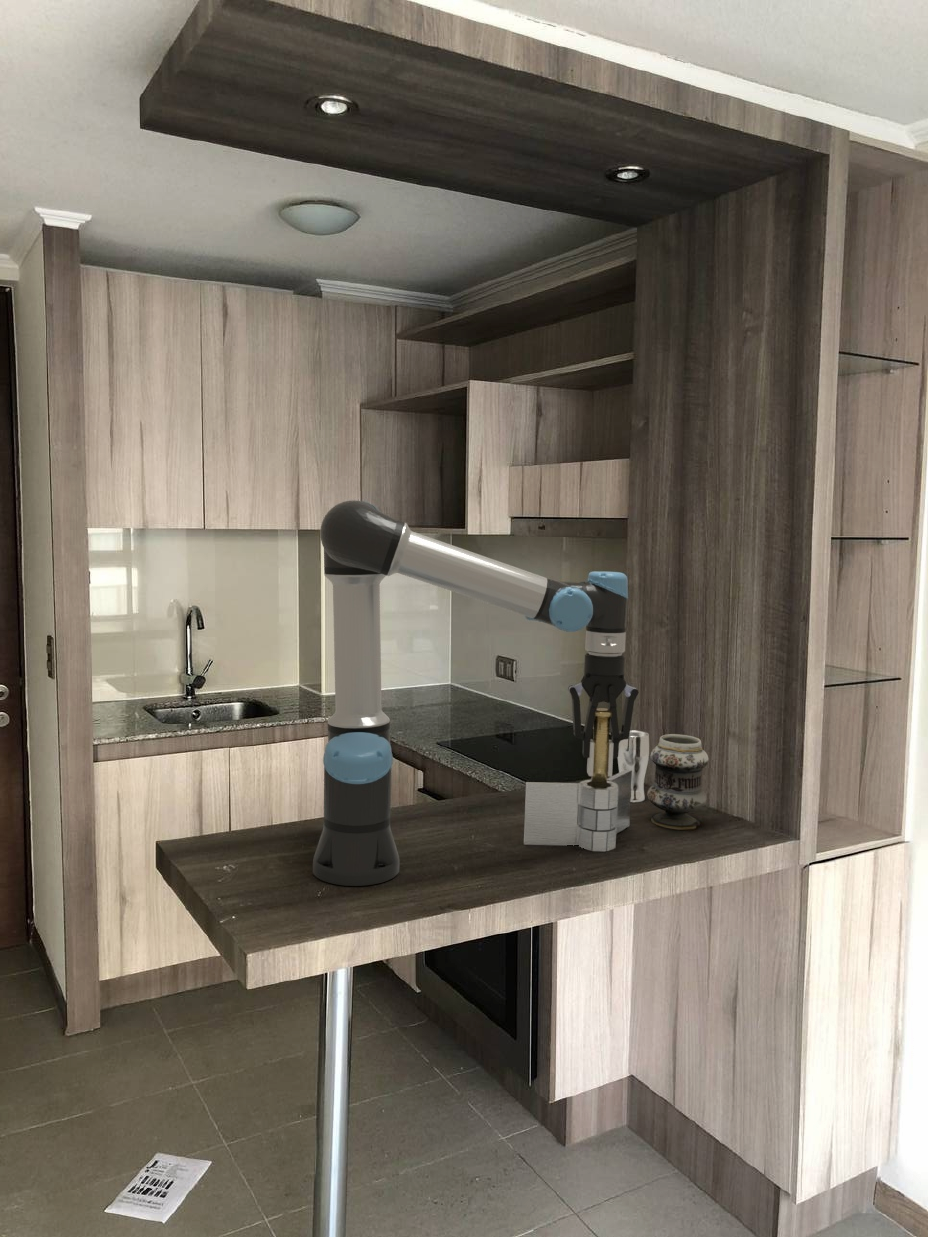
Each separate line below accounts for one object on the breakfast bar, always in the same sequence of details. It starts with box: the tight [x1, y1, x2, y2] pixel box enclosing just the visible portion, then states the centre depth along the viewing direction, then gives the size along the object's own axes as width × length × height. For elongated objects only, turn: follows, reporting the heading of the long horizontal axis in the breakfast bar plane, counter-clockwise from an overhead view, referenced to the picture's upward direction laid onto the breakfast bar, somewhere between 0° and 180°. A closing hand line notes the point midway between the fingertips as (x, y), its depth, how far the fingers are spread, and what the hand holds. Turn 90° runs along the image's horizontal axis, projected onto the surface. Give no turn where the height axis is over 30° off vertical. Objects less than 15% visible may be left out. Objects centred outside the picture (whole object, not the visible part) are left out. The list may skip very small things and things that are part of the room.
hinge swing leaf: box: [577, 769, 632, 835], centre depth 193 cm, size 18×7×12 cm, turn 146°
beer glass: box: [617, 729, 650, 803], centre depth 221 cm, size 7×7×15 cm
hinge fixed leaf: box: [523, 778, 618, 852], centre depth 189 cm, size 18×7×12 cm, turn 91°
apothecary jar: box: [646, 733, 709, 831], centre depth 204 cm, size 12×12×18 cm
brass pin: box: [590, 707, 612, 788], centre depth 188 cm, size 4×4×15 cm
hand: (599, 774), depth 188 cm, fingers closed on brass pin, 3 cm apart
